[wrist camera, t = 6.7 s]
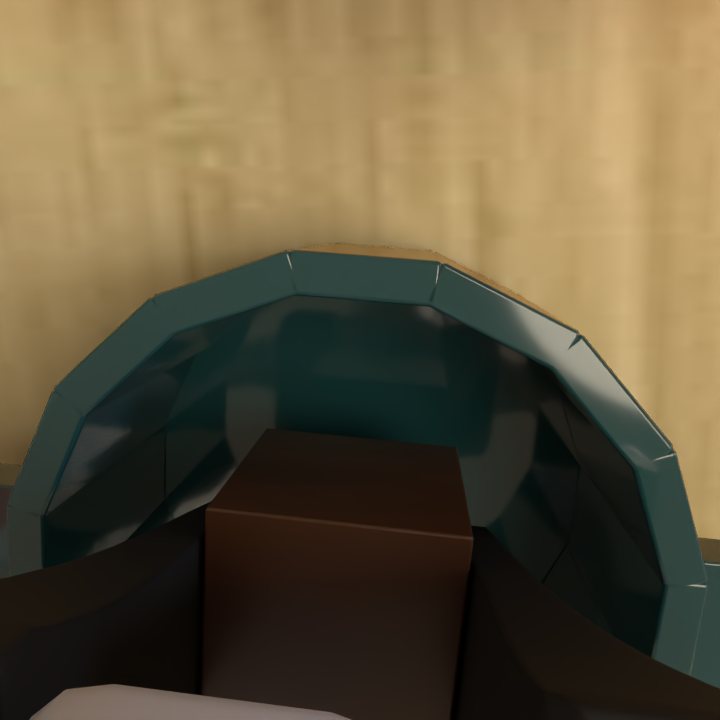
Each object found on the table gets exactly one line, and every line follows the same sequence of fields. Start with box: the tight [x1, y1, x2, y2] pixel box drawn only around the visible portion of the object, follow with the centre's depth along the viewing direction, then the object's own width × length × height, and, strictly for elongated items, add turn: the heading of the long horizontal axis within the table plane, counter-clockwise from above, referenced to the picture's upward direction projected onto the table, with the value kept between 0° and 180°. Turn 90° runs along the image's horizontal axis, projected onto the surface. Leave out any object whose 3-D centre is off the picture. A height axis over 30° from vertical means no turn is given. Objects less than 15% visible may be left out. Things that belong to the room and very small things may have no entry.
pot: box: [0, 243, 720, 689], centre depth 14 cm, size 12×17×6 cm
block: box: [201, 428, 474, 720], centre depth 12 cm, size 4×4×4 cm
